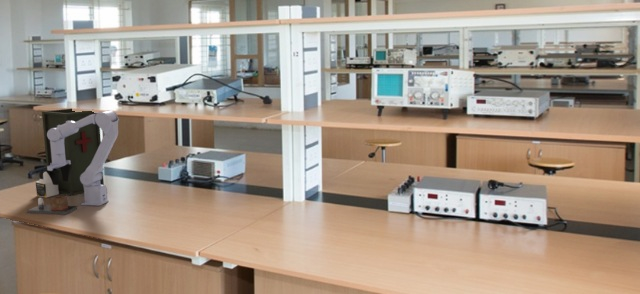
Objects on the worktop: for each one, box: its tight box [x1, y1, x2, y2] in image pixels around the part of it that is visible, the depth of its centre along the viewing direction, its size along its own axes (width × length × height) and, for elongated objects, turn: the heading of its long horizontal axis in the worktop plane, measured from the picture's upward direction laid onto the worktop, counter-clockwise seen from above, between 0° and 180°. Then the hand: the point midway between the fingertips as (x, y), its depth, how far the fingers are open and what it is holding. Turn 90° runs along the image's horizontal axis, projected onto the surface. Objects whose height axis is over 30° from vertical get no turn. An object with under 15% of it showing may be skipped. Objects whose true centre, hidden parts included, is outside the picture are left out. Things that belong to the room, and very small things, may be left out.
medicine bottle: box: [35, 170, 60, 198], centre depth 273 cm, size 7×7×12 cm
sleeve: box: [49, 195, 69, 210], centre depth 246 cm, size 5×5×5 cm
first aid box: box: [41, 108, 105, 196], centre depth 282 cm, size 18×18×40 cm
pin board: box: [26, 196, 78, 216], centre depth 247 cm, size 18×9×6 cm, turn 81°
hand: (60, 182), depth 259 cm, fingers open, 7 cm apart
